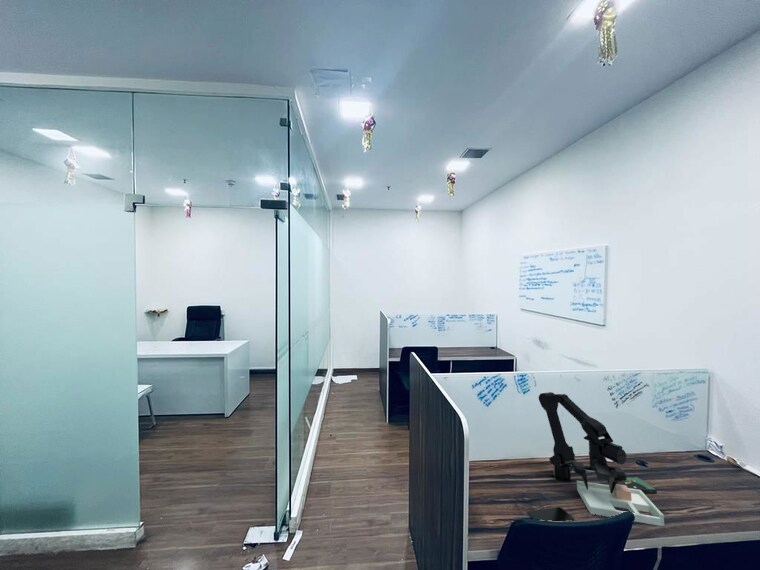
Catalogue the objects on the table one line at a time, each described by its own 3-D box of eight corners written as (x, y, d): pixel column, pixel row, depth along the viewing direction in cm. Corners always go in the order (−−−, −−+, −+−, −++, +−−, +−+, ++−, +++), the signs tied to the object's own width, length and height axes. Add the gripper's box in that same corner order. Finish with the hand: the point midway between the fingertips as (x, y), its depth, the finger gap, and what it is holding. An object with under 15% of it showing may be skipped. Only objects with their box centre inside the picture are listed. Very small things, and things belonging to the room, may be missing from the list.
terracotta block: (617, 498, 128) (616, 489, 128) (612, 491, 133) (611, 483, 133) (631, 500, 127) (631, 491, 127) (626, 493, 131) (625, 485, 132)
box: (590, 513, 122) (590, 503, 123) (577, 489, 139) (576, 480, 139) (664, 526, 115) (663, 515, 116) (641, 499, 131) (640, 489, 132)
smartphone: (560, 508, 126) (525, 513, 123) (560, 506, 126) (525, 510, 123) (575, 521, 118) (539, 527, 115) (575, 519, 118) (539, 524, 115)
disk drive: (624, 496, 135) (657, 495, 135) (624, 489, 135) (657, 489, 135) (607, 482, 145) (638, 482, 145) (606, 476, 145) (637, 476, 146)
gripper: (578, 458, 128) (579, 497, 127) (631, 465, 123) (634, 506, 121) (570, 447, 139) (572, 483, 138) (619, 453, 133) (621, 491, 132)
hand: (599, 491), depth 132 cm, fingers open, 8 cm apart
